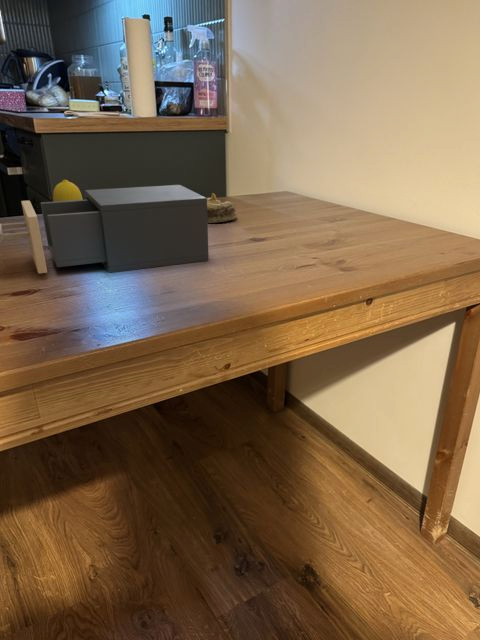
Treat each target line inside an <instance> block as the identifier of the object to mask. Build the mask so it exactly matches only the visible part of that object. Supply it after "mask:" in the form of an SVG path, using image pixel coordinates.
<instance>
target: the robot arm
mask: <svg viewBox="0 0 480 640" xmlns="http://www.w3.org/2000/svg"><path fill="white" fill-rule="evenodd" d="M6 40H7V39H6V35H5V28H4V24H3V18H2V11H1V10H0V46H3V45H5V44H6ZM4 153H5V149H4V145H3V139H2V134H1V132H0V155H3V154H4Z"/></svg>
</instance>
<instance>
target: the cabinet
mask: <svg viewBox="0 0 480 640" xmlns="http://www.w3.org/2000/svg"><path fill="white" fill-rule="evenodd" d="M84 195H85V200H87V199H89V200H90V201H91V202H92V203H93V204H94V205H95V206H96V207H97V208H98V209H99V210H100V213H101V221H102V229H103V237H104V245H105V253H106V261H107V262H101V264H102V265H103V267H104V268H105V269H106V270H107V272H108V273H111V274H112V273H117V272H118V273H119V272H127V271H135V270H143V269H151V268H159V267H167V266H174V265H182V264H183V265H184V264H191V263H198V262H209V260H210V259H209V258H210V257H209V225H208V224H209V223H208V221H207V198H208V197H205V196H204V195H201V194H199V193H197V192H195V191H193V190H191V189H189V188H187V187H185V186H183V185H181V184H172V185H169V184H168V185H153V186H152V185H151V186H135V187H132V186H131V187H118V188H100V189H99V188H98V189H97V188H96V189H85V190H84Z"/></svg>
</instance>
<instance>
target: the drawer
mask: <svg viewBox="0 0 480 640" xmlns="http://www.w3.org/2000/svg"><path fill="white" fill-rule="evenodd" d="M20 202H21V203H20V204H21V208H22V212H23V218H24V221H23V222H12V223H0V243H3V242H4V240H9V239H18V238H28V243H29V248H30V253H31V256H32V258H33V262H34V265H35V268H36V271H37V273H38V274H46V273H48V268H47V263H46V258H45V252H44V247H43V241H42V236H41V230H40V224H39V220H38V216H37V214H36V211H35V209H34V207H33V205H32V202H31V201H30V200H21V201H20ZM40 207H41V213H42V219H43V225H44V230H45V231H44V232H45V237H46V241H47V246H48V250H49V253H50V256H51V257H52V260H53V262H54V264H55V266H56V268H64V267H72V266H81V265H89V264H98V263H102V262H107V261H106V253H105V245H104V237H103V229H102V221H101V213H100V210H99V209H98V208H97V207H96V206H95V205H94V204H93V203H92V202H91V201H90V200H89V199H87V200H86V199H83V200H72V201H56V202H54V201H41V202H40ZM18 228H19V229H21V228H26V231H21V232H20V231H19V232H7V233H4V230H7V229H18Z"/></svg>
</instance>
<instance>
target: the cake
mask: <svg viewBox="0 0 480 640" xmlns="http://www.w3.org/2000/svg"><path fill="white" fill-rule="evenodd" d="M206 198H207V221H208V224H209V223H210V224H215V223H222V222H228V221H232V220H233V221H234V220H235V219H237V218H238V213H237V212H236V211H237V209H236V206H235V203H233V202H232V201H228V200H226V201H224V202H221V200H219V199H218V198H217V196H216V194H215V193H214V192H212V193H211V196H210V197H206Z"/></svg>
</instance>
